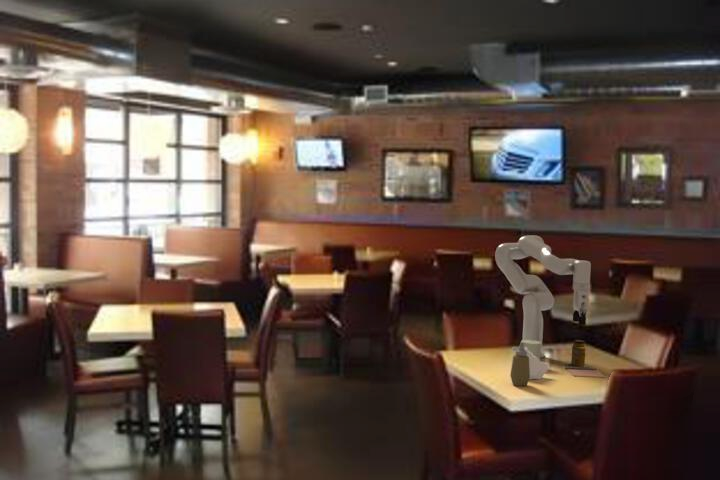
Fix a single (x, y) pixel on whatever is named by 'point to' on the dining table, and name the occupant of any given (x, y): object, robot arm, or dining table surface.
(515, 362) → the squeeze bottle
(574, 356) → the condiment
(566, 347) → the dining table surface
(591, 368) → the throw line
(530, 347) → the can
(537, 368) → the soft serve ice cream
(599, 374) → the mat
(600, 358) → the dining table surface
